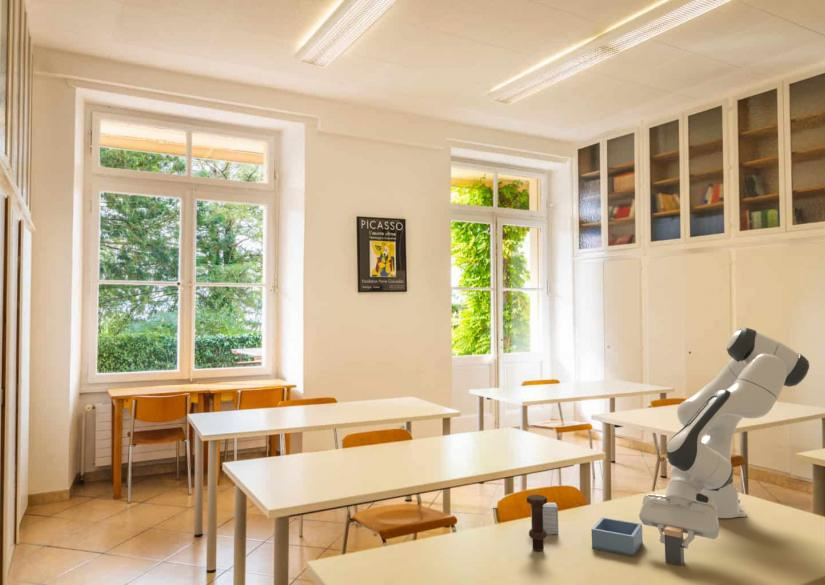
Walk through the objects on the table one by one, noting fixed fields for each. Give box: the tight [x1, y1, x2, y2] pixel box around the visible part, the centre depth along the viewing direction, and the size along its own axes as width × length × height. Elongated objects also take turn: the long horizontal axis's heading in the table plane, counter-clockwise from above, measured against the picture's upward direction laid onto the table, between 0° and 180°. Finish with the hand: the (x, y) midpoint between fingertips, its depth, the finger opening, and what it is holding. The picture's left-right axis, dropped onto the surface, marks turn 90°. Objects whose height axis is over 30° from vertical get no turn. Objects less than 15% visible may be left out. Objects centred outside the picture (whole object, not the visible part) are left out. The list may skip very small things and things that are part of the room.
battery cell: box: [663, 526, 685, 567], centre depth 160 cm, size 3×4×9 cm
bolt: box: [526, 494, 548, 552], centre depth 171 cm, size 6×5×15 cm
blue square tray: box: [591, 517, 644, 558], centre depth 172 cm, size 12×12×6 cm
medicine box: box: [530, 501, 560, 535], centre depth 184 cm, size 8×4×9 cm, turn 84°
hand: (673, 544), depth 160 cm, fingers closed on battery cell, 4 cm apart
